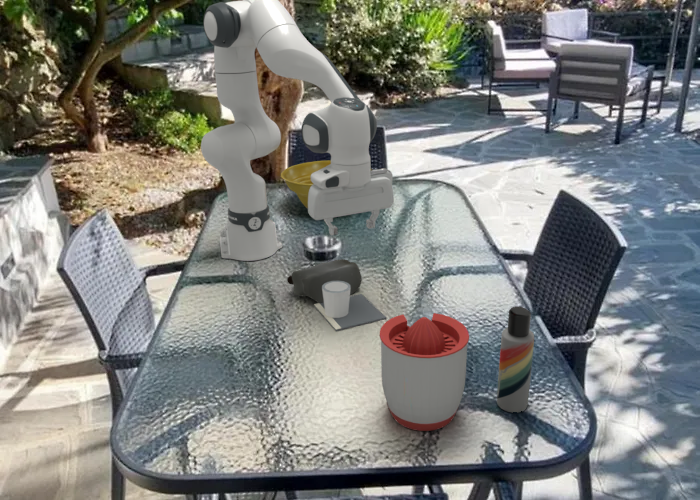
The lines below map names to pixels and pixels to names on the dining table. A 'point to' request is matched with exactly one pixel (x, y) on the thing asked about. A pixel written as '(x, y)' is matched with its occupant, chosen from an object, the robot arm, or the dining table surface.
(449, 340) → the citrus juicer
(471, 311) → the dining table surface
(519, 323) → the lotion bottle
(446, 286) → the dining table surface
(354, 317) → the mat
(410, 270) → the dining table surface
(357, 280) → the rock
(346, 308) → the shot glass
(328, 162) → the planter bowl
